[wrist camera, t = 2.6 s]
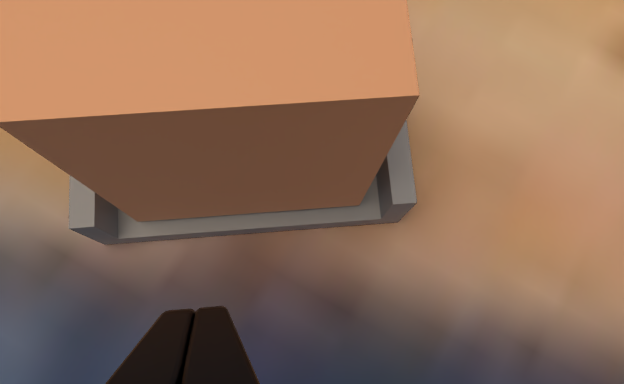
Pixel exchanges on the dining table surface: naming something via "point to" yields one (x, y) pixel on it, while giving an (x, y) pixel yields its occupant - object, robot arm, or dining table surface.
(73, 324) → the dining table surface
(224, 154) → the terracotta block
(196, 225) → the gray open tray
